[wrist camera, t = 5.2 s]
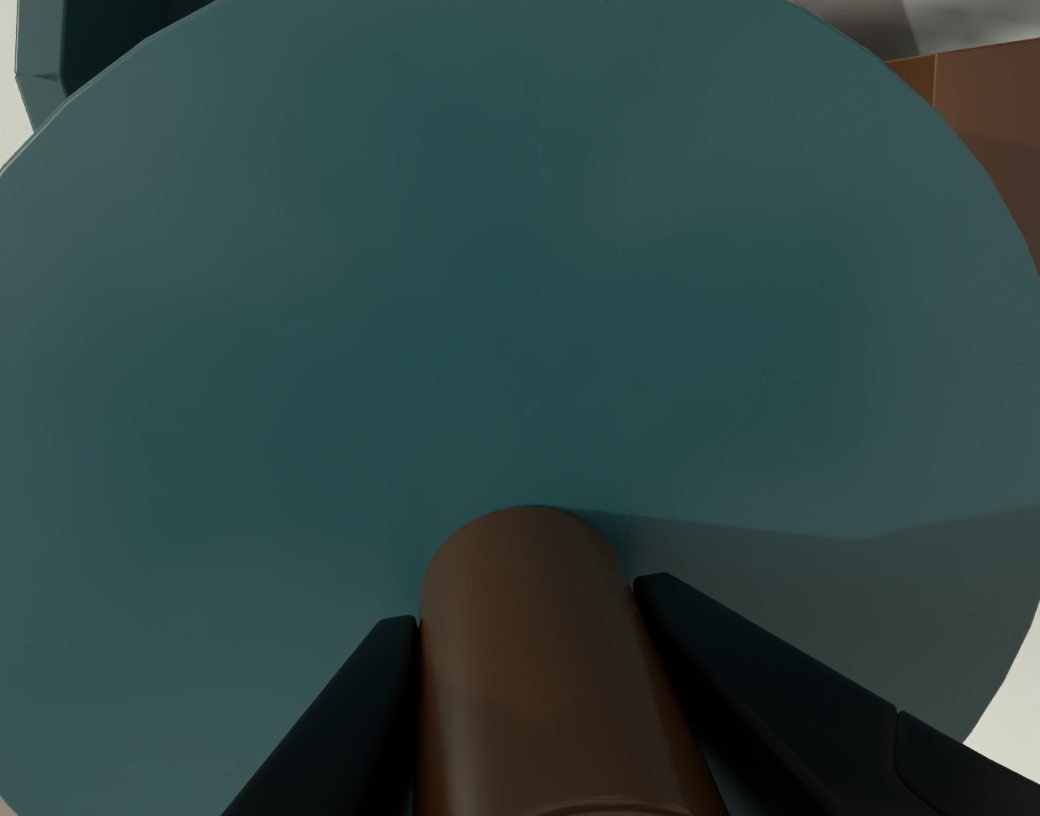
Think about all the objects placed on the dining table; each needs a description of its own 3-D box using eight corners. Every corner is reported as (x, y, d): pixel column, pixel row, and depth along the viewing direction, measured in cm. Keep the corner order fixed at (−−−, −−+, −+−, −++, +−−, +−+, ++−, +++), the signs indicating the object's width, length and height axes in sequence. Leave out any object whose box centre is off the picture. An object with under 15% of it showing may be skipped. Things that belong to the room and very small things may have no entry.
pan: (651, -411, 16) (748, -659, 11) (699, 412, 23) (774, 491, 18) (3, -336, 15) (-208, -563, 10) (248, 488, 22) (191, 593, 17)
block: (1000, 45, 20) (1172, 17, 15) (985, 235, 22) (1135, 262, 17) (818, 72, 20) (935, 52, 15) (818, 262, 22) (923, 297, 17)
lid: (1074, -113, 8) (2066, -507, 3) (966, 838, 14) (1291, 1268, 8) (-286, 44, 8) (-1767, -150, 2) (140, 996, 13) (-64, 1582, 8)
